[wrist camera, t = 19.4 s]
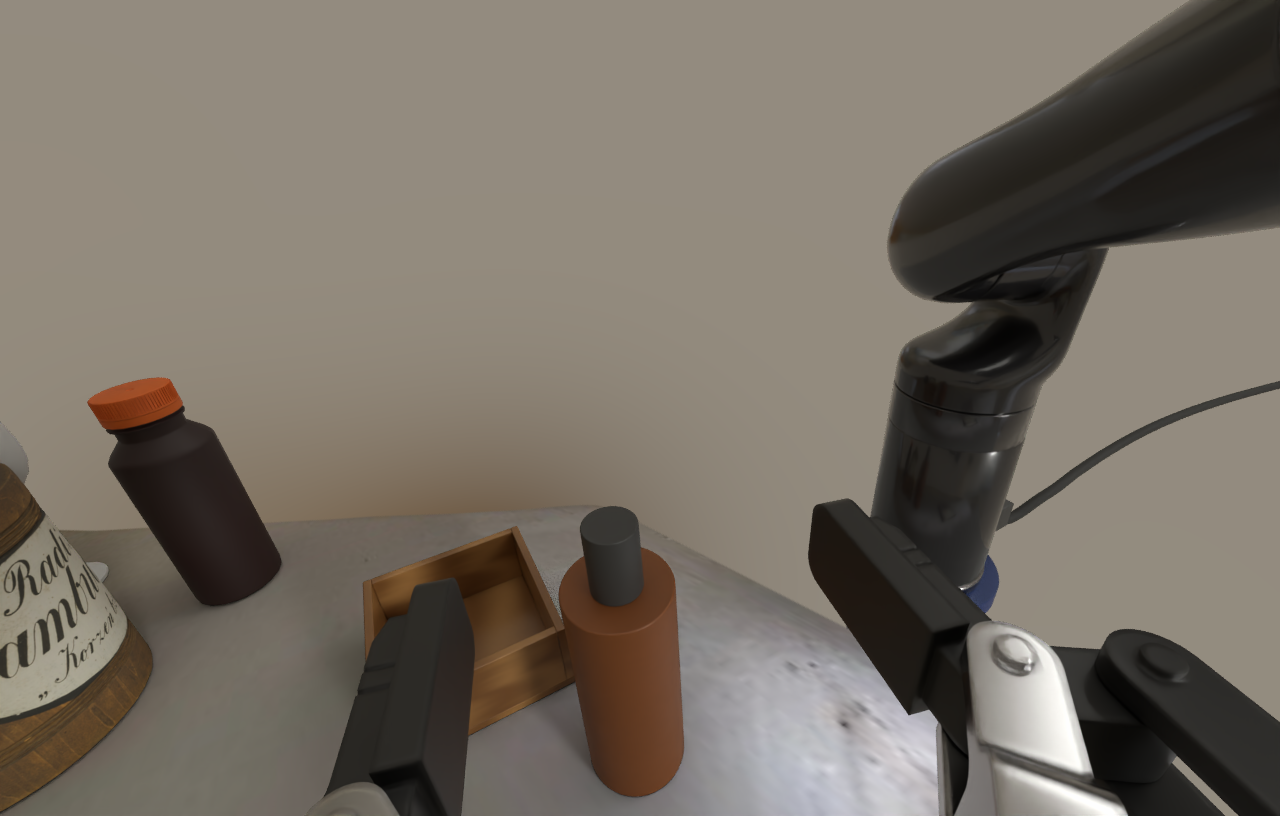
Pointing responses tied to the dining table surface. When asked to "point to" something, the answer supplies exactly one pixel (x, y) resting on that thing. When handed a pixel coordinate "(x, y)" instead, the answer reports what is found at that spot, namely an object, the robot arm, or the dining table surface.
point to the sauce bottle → (625, 654)
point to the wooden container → (55, 649)
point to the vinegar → (186, 491)
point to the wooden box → (489, 621)
